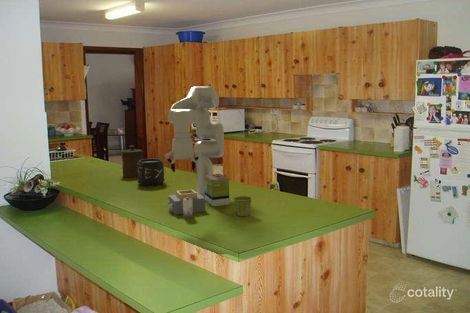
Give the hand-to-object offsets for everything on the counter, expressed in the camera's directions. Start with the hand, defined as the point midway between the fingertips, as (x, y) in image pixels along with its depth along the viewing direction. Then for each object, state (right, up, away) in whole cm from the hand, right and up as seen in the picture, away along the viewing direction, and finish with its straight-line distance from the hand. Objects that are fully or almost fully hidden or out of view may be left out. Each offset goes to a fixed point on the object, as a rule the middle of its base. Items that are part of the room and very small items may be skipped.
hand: (183, 170), depth 246 cm
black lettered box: (-30, -11, +83) cm, 89 cm away
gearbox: (0, -21, +16) cm, 26 cm away
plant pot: (+29, -22, +4) cm, 37 cm away
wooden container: (-48, -7, +115) cm, 125 cm away
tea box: (+15, -19, +30) cm, 39 cm away
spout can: (+2, -23, +2) cm, 23 cm away
